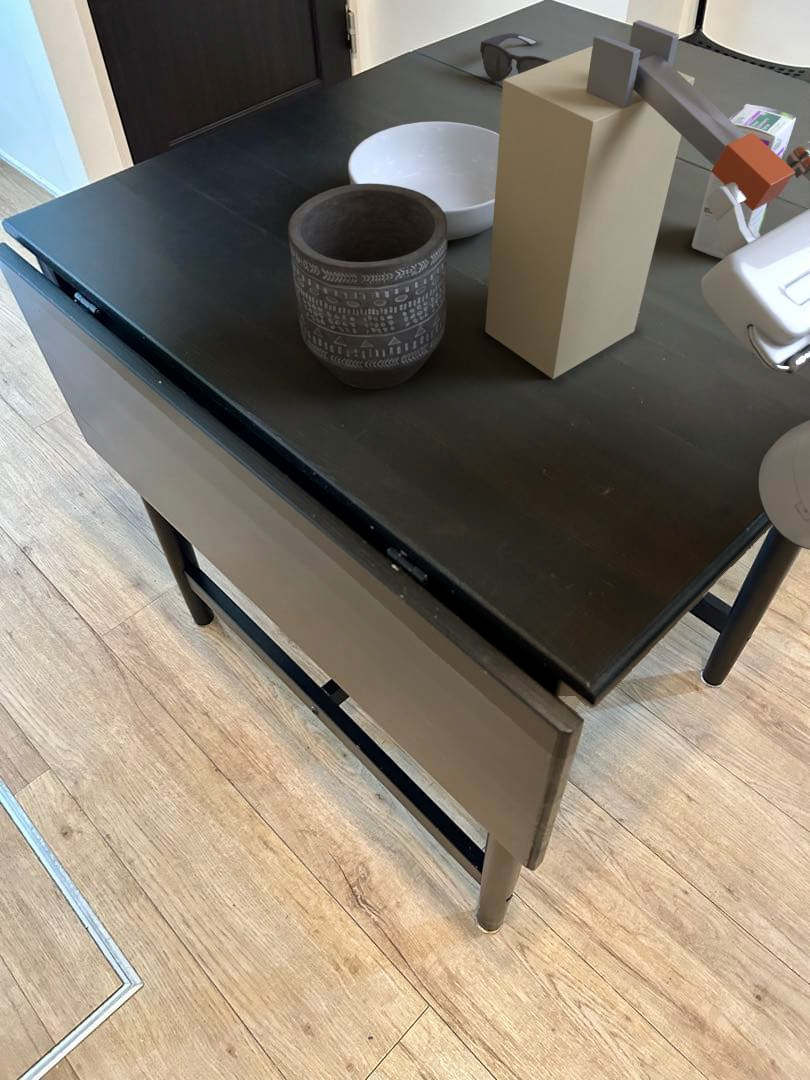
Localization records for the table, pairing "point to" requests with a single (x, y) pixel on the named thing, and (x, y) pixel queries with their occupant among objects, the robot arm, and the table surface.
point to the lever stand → (578, 201)
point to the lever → (713, 133)
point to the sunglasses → (506, 57)
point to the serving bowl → (436, 169)
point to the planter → (370, 281)
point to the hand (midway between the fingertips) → (758, 168)
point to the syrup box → (749, 119)
